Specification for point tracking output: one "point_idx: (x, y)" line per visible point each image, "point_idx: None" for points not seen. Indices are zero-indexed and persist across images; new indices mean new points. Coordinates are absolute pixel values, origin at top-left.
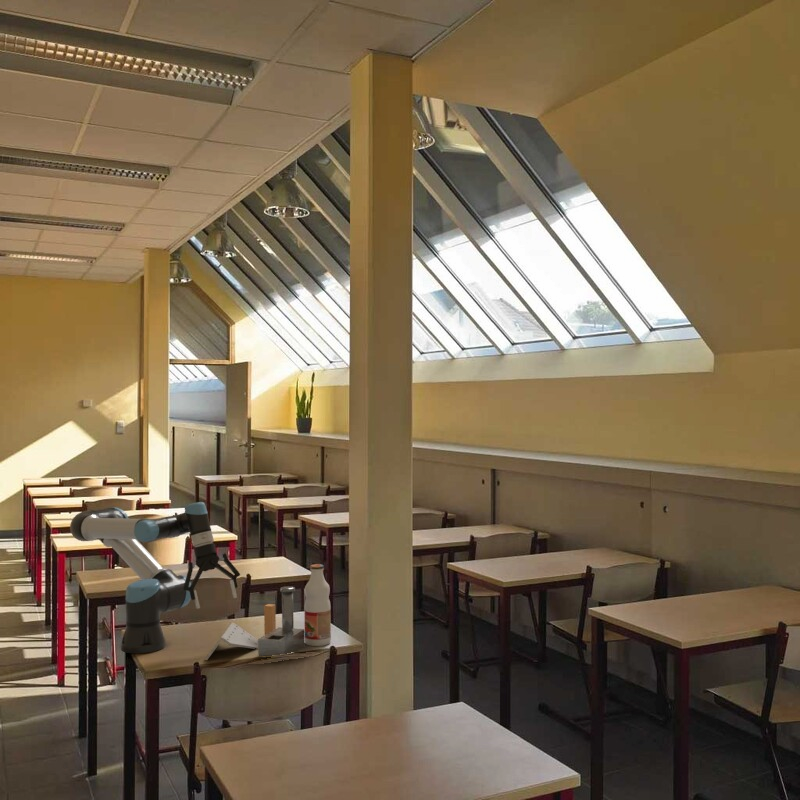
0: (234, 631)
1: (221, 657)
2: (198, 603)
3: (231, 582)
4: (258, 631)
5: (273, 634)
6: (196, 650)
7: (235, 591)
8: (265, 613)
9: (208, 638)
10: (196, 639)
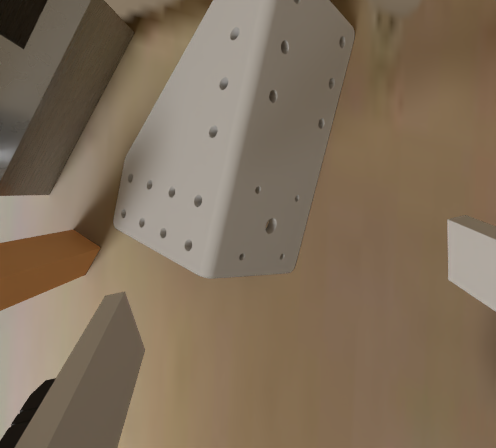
0: (204, 156)
1: None
2: (483, 230)
3: (68, 423)
4: None
5: (21, 64)
6: (379, 202)
7: (89, 329)
8: (4, 270)
9: (320, 371)
10: (371, 373)
